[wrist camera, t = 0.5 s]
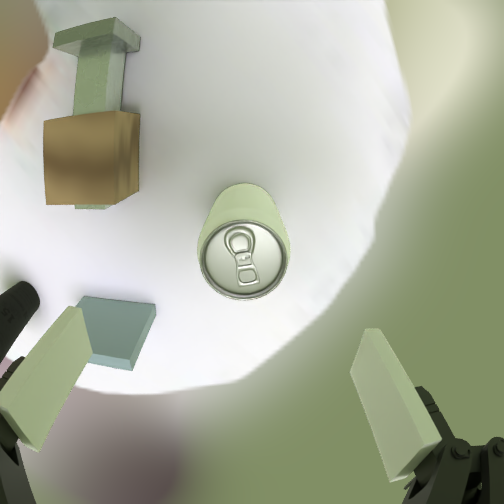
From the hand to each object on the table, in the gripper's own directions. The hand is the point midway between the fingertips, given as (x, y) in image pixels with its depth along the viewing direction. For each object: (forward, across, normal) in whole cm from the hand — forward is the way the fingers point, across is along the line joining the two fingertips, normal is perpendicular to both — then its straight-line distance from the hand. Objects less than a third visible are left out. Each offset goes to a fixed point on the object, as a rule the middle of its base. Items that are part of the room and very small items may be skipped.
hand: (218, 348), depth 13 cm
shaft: (+19, -14, +11) cm, 26 cm away
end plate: (+19, -14, -11) cm, 26 cm away
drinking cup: (+19, -30, -12) cm, 38 cm away
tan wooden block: (+19, -14, +7) cm, 25 cm away
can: (+19, +1, +1) cm, 19 cm away
